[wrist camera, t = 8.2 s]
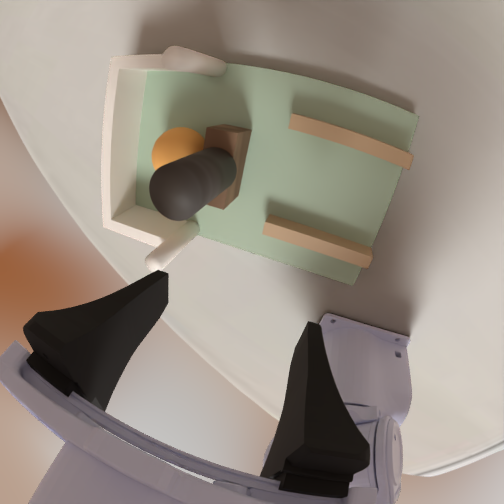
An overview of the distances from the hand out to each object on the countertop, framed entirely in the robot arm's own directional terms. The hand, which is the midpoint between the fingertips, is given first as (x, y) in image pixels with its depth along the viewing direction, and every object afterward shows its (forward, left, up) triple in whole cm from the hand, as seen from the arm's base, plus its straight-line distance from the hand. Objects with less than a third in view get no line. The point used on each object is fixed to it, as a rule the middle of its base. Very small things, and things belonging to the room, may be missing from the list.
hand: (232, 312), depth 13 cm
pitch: (+3, -5, -10) cm, 12 cm away
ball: (+7, -5, -7) cm, 11 cm away
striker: (+4, -5, -9) cm, 11 cm away
